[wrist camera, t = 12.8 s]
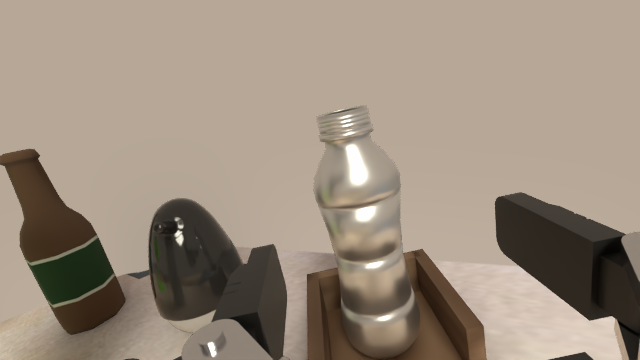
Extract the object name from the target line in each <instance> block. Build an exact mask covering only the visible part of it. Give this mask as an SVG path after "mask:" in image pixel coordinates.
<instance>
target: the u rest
mask: <svg viewBox="0 0 640 360" xmlns="http://www.w3.org/2000/svg"><path fill="white" fill-rule="evenodd" d="M403 255H404V259H405V263H406V267H407V271H408V275H409V280H410V284H411V286H412V289H413V291H414V294H415V296H416V299H417V302H418V306H419V309H420V329H419V334H418V336H417V338H416V340H415V341H414V343H413V344H412V345H411V346H410V348H409V349H408V350H406V351H405V352H404V353H402V354H400V355H398V356H396V357H393V358H387V359H378V358H372V357H370V356H367V355H365V354H363V353H362V352H360V351H359V350H357V349H356V348H355V347H354V346H353V345H352V344H351V343H350V341H349V339H348V337H347V335H346V333H345V330H344V328H343V325H342V318H341V289H340V281H339V273H338V268H334V269H330V270H325V271H321V272H316V273H312V274H307V323H308V360H487V359H486V349H485V338H484V327H483V325H482V323H481V322H480V321H479V320H478V318H477V317H476V316H475V315H474V313H473V312H472V311H471V310H470V308H469V307H468V306H467V305H466V303H465V302H464V301H463V299H462V298H461V297H460V296H459V294H458V293H457V292H456V291H455V289H454V288H453V287H452V286H451V284H450V283H449V282H448V281H447V279H446V278H445V277H444V276H443V274H442V273H441V272H440V271H439V269H438V268H437V267H436V265H435V264H434V263H433V262H432V260H431V259H430V258H429V257H428V255H427V254H426V253H425V252H424V251H423V249H420V250H416V251H411V252H407V253H403Z"/></svg>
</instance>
